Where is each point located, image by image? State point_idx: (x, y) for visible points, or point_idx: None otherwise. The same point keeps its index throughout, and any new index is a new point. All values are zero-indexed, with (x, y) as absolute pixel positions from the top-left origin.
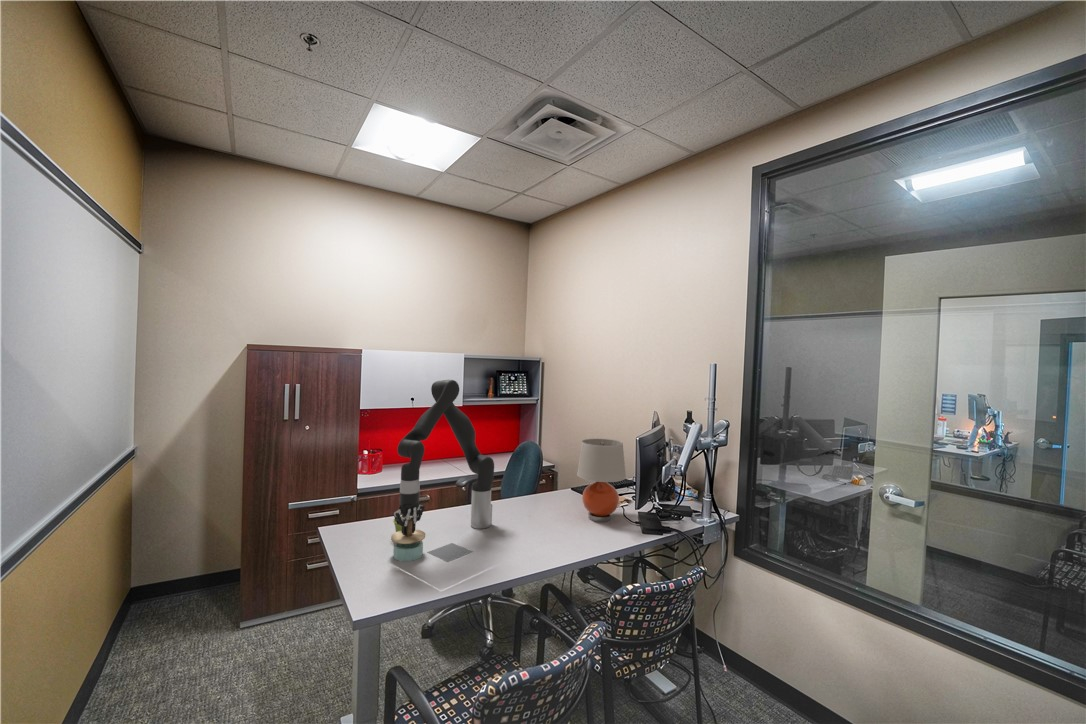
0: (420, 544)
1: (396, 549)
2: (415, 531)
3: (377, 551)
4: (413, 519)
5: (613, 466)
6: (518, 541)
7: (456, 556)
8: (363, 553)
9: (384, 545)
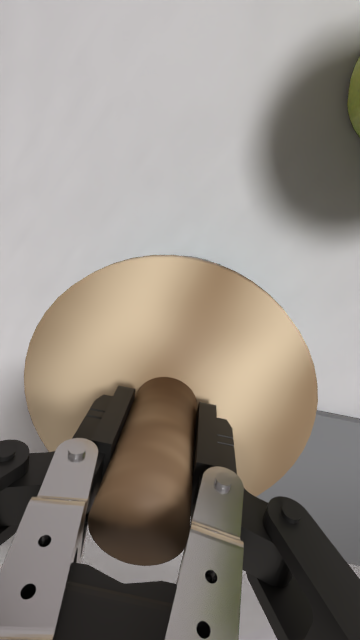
0: None
1: None
2: (270, 396)
3: (123, 109)
4: (177, 577)
5: None
6: None
7: None
8: (42, 45)
9: (227, 56)
